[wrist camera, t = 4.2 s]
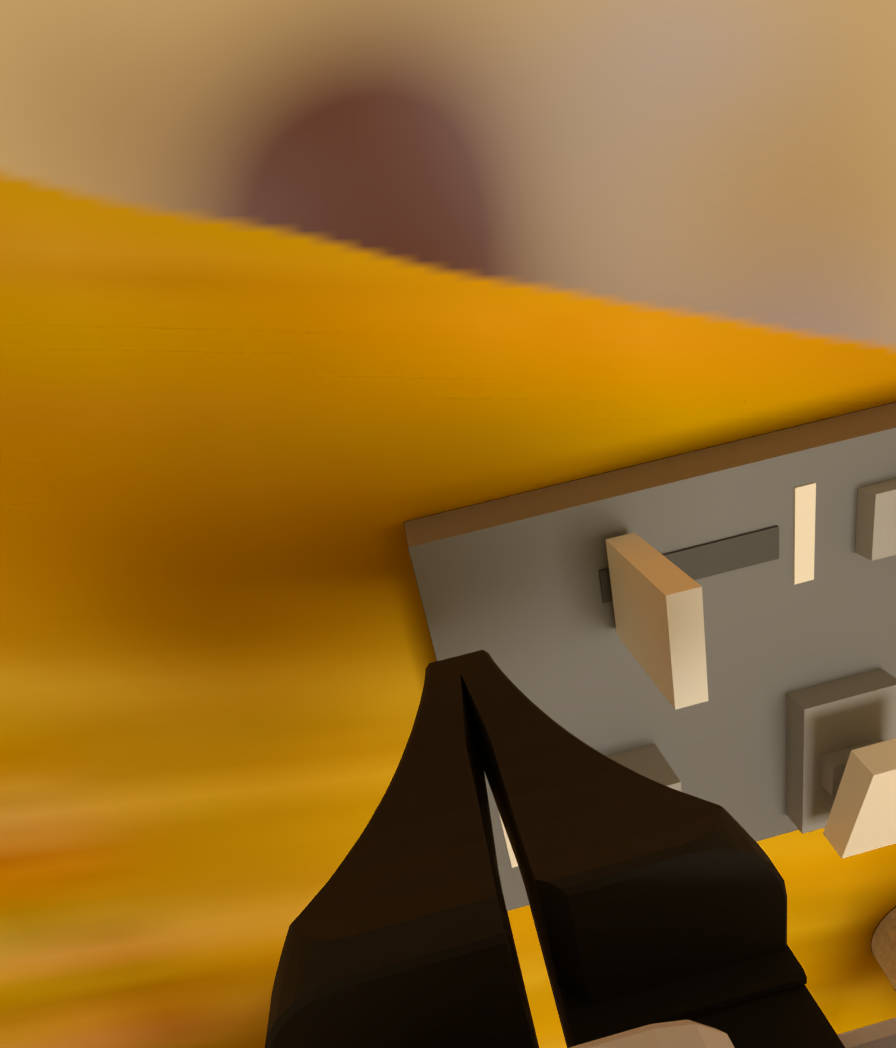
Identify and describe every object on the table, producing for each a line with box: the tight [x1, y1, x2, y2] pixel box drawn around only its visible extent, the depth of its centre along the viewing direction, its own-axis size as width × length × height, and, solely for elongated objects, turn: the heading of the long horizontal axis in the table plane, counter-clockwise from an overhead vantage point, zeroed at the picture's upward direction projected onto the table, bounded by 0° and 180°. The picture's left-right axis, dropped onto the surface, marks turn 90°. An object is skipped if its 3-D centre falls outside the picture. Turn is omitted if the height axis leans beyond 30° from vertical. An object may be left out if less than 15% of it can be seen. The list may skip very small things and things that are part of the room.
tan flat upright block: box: [606, 532, 708, 710], centre depth 14 cm, size 3×1×3 cm, turn 12°
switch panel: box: [404, 402, 896, 911], centre depth 18 cm, size 14×16×4 cm
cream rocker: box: [823, 738, 896, 858], centre depth 17 cm, size 4×3×1 cm, turn 12°
